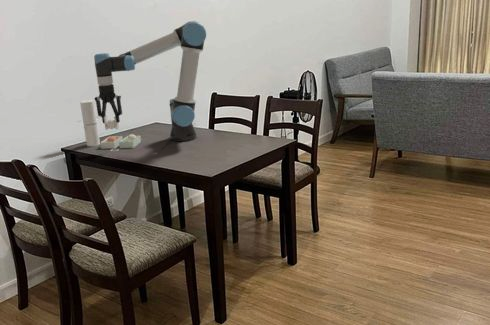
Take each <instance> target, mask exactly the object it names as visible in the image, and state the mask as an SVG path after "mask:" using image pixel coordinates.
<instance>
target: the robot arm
mask: <svg viewBox="0 0 490 325" xmlns="http://www.w3.org/2000/svg"><path fill="white" fill-rule="evenodd" d="M206 39H207V31H206V28H205V26H204V25H203V24H202V23H201V22H200V21H199V22H198V21H195V20H194V21H192V20H191V21H188V22H186V23H184V24H183V25H181V26H180V27H178V28H175V29H174V30H173V31H172V32H171V33H169V34H166V35H164V36H162V37H159V38H156V39H155V40H152V41H150V42H148V43H145V44H143V45H140V46H138V47H136V48H134V49H131V50H130V51H126V52H124V53H121V54H118V56H110V54H109V53H107V52H106V53H103V52H102V53H101V52H100V53H95V55H94V57H93V59H94V66H95V67H94V68H95V72H96V79H97V84H98V85H97V86H98V93H99V95H98V96H95V97H94V100H95V101H94V102H95V104H96V110H97V116H98V117H101V121H102V124H104V128H105V131H107V130H110V129H109V128H108V127H107V121H108V120H109V119H108V116H107V115H106V112H107V104H109V105H110V106H111V108H112V111H113V114H114V117H113V120H115V130H118V129H120V126H119V123H120V121H121V120H120V116H121V115H123V110H122V109H123V108H122V102H121V99H122V95H117V94H116V93H115V86H114V84H113V83H114V79H113V73H117V72H130V71H134V70H135V69H136V65H138V64H139V63H143V62H145V61H147V60H150V59H151V58H154V57H157V56H159V55H160V54H164V53H166V52H168V51H170V50H173V49H175V48H177V47H180V48H181V49H182V56H181V63H180V64H181V65H180V72H179V80H178V85H177V86H178V87H177V93H176V96H175V97H174V98H170V100H169V103H168V104H169V109H170V120H171V121H170V122H171V129H170V134H169V139H170V141H172V142H188V141H193V140H195V139H197V136H198V134H197V131H196V128H195V126H194V125H193V123H194V120H195V117H196V115H195V108H196V100H195V99H194V94H195V88H196V82H197V80H196V79H197V74H198V66H199V59H200V53H201V52H203V50H204V44H205V42H206ZM115 101H116V104H115ZM101 102H102V103H101ZM101 104H102V106H101Z"/></svg>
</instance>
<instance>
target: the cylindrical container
mask: <svg viewBox="0 0 490 325" xmlns="http://www.w3.org/2000/svg"><path fill="white" fill-rule="evenodd" d="M79 102H80V109H81V117H82V123H83V128H84V130H83V131H84V136H85V141H86V146H87V147H96V146H99V145H100V142H101V140H100V134H99V127H98V120H97V113H96V106H95V101H94V100H93V99H89V100H82V101H79ZM100 146H101V145H100Z"/></svg>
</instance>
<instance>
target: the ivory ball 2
mask: <svg viewBox="0 0 490 325" xmlns="http://www.w3.org/2000/svg"><path fill="white" fill-rule="evenodd" d="M127 136H128V138H127V139H128V142H129V141H133V140H135V139H136V136H137V135H135V134H128V135H127Z"/></svg>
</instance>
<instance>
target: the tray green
mask: <svg viewBox="0 0 490 325" xmlns="http://www.w3.org/2000/svg"><path fill="white" fill-rule="evenodd" d="M128 136H129V135H127V136H125V137H124V138H123V139H122V140H121V141H120V142H119V149H135V147H137V146H138V145H139V144H140V143H141V142H142V138H141V135H135V136H136V139H135V140H133V141H129V142H128V139H127V138H128Z"/></svg>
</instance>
